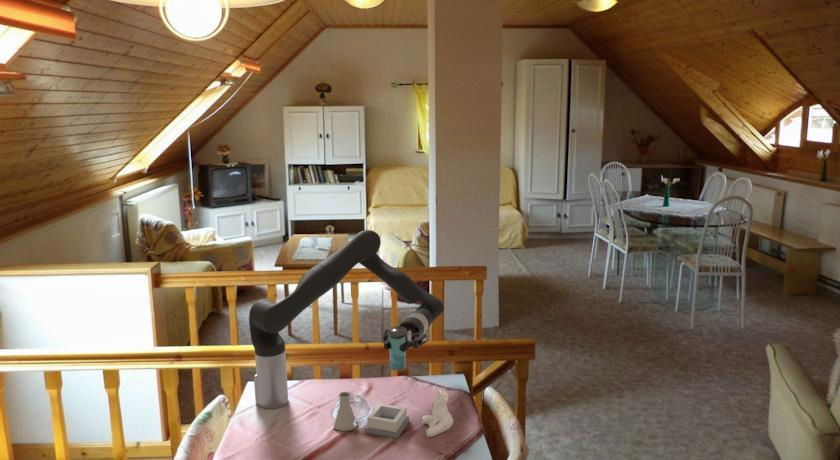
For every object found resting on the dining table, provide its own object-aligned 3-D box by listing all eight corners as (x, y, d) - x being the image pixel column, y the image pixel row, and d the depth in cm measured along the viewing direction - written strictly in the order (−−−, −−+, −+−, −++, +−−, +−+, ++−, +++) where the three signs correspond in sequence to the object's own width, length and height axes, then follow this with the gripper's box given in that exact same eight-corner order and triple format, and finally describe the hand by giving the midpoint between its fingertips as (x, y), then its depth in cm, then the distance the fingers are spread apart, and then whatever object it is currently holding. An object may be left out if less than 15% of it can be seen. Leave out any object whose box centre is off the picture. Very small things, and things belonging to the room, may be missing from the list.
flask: (353, 433, 181) (352, 401, 178) (329, 430, 182) (328, 398, 180) (361, 420, 187) (360, 389, 185) (337, 418, 189) (336, 387, 187)
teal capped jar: (385, 369, 188) (384, 331, 185) (392, 362, 193) (391, 325, 190) (403, 372, 186) (402, 333, 183) (409, 364, 191) (409, 327, 189)
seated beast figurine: (420, 421, 187) (420, 383, 184) (449, 418, 188) (449, 380, 186) (427, 437, 178) (426, 398, 175) (456, 434, 179) (457, 395, 177)
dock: (364, 432, 181) (364, 418, 180) (378, 415, 190) (377, 402, 189) (397, 438, 177) (397, 423, 176) (409, 421, 187) (409, 407, 186)
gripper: (392, 314, 203) (371, 333, 187) (434, 319, 198) (417, 338, 182) (392, 336, 204) (372, 356, 188) (434, 341, 200) (417, 363, 184)
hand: (394, 347), depth 185 cm, fingers closed on teal capped jar, 4 cm apart
